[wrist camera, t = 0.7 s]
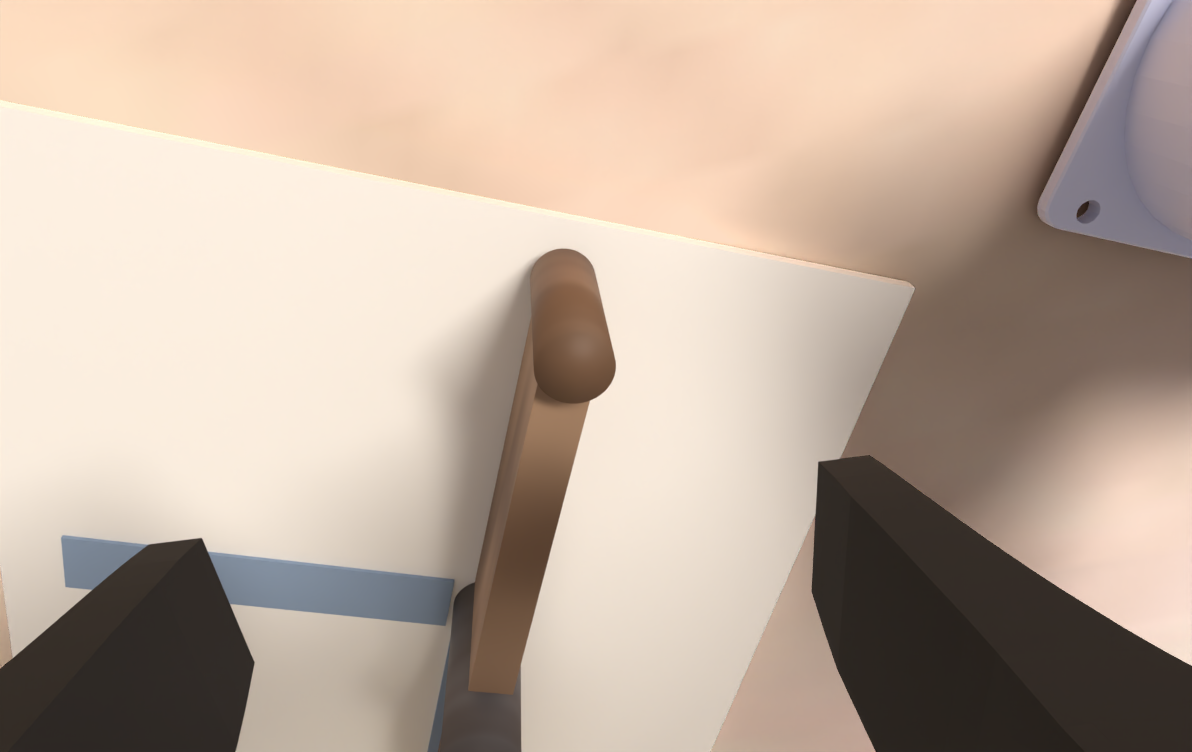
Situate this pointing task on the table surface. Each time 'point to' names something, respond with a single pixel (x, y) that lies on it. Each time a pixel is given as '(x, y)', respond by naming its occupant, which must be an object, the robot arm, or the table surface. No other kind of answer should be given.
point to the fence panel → (537, 459)
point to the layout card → (403, 429)
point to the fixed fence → (475, 696)
